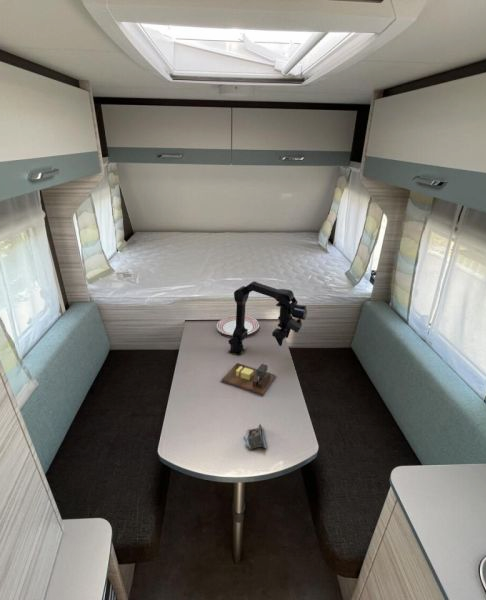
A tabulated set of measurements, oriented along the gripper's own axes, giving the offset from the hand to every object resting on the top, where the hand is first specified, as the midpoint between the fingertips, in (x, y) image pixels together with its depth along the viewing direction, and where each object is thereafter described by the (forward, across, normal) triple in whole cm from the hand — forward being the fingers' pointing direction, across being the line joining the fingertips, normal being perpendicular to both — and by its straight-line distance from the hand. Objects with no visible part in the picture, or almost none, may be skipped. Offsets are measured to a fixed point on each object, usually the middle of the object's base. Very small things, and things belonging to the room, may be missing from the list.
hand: (283, 341), depth 169 cm
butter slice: (+13, -19, +16) cm, 28 cm away
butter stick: (+13, -20, +11) cm, 26 cm away
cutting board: (+15, -20, +10) cm, 26 cm away
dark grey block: (+13, -20, +3) cm, 24 cm away
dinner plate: (+15, +25, +40) cm, 49 cm away
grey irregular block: (+15, -52, -9) cm, 55 cm away
